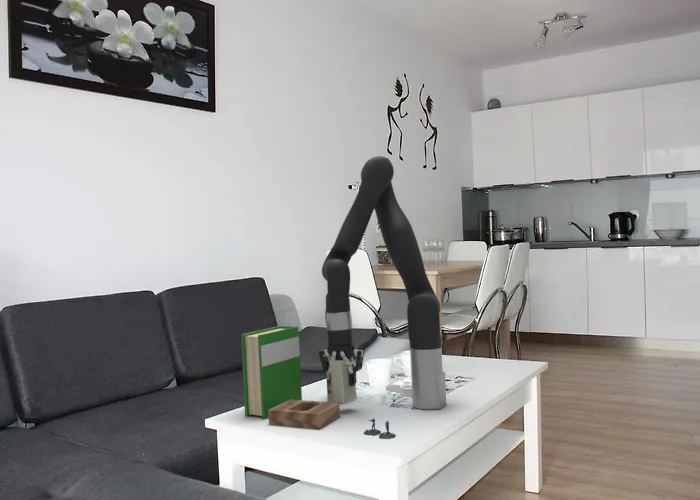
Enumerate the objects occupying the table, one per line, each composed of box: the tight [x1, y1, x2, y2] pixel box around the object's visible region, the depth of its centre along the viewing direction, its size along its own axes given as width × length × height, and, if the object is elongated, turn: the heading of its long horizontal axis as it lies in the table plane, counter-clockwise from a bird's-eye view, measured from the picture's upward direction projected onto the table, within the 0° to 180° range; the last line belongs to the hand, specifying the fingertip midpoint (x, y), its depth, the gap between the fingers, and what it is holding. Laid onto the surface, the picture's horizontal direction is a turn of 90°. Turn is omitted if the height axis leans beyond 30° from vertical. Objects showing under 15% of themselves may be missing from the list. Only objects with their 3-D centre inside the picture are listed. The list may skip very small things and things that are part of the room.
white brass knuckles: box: [385, 376, 412, 397], centre depth 202 cm, size 3×18×15 cm
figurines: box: [363, 417, 397, 440], centre depth 159 cm, size 10×5×4 cm, turn 47°
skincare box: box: [330, 357, 358, 404], centre depth 182 cm, size 6×4×12 cm
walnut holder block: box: [268, 399, 341, 430], centre depth 174 cm, size 16×12×4 cm
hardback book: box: [240, 325, 303, 420], centre depth 187 cm, size 18×7×24 cm, turn 147°
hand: (343, 385), depth 182 cm, fingers closed on skincare box, 5 cm apart
